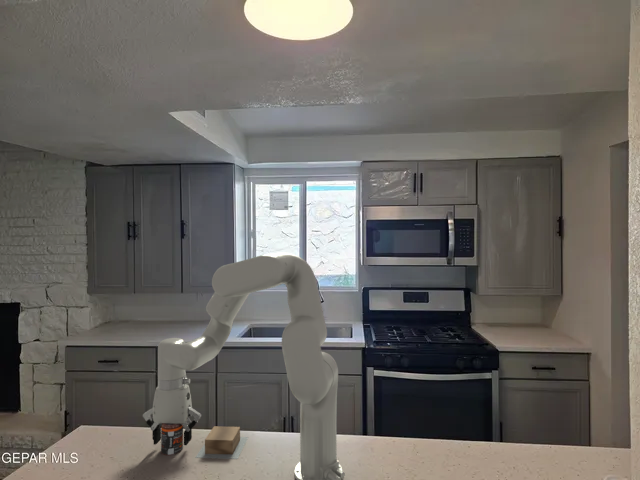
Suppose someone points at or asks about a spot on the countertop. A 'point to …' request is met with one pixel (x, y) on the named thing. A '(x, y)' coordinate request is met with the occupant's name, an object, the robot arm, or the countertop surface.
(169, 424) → the supplement bottle
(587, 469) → the countertop surface
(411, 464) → the countertop surface
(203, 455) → the base plate
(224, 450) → the walnut block
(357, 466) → the countertop surface
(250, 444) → the countertop surface
